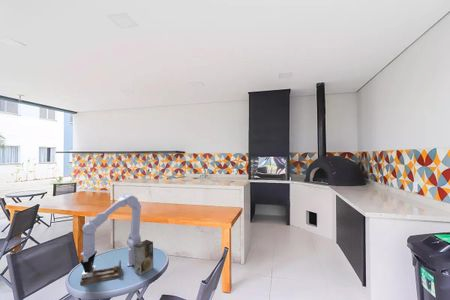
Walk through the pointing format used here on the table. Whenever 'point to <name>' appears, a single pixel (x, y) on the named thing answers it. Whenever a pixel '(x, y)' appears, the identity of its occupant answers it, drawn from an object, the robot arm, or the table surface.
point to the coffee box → (143, 257)
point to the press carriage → (89, 274)
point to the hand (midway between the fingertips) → (89, 268)
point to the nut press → (103, 274)
